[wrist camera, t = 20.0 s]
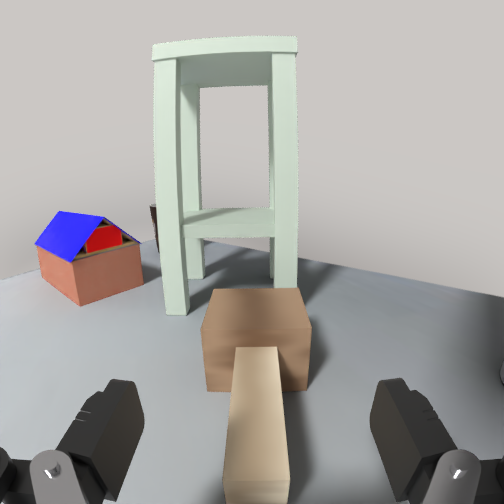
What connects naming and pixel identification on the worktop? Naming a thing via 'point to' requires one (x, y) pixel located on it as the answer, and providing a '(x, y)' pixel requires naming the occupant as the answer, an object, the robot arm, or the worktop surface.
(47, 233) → the house
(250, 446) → the cube on tan board
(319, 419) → the worktop surface
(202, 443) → the worktop surface
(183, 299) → the tall stand
